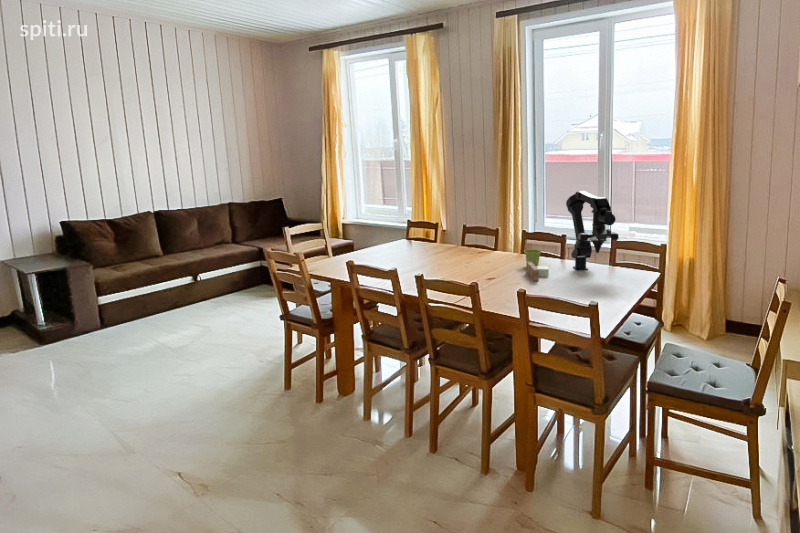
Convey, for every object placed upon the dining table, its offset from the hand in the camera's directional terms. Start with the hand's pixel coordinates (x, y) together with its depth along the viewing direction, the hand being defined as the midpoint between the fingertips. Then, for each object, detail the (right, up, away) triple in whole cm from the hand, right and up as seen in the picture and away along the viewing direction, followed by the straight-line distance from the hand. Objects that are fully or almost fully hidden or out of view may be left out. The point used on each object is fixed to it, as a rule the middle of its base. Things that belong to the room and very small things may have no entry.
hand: (597, 252), depth 291 cm
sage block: (-26, -11, +9) cm, 30 cm away
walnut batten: (-32, -12, +5) cm, 35 cm away
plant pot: (-27, -7, +28) cm, 39 cm away
